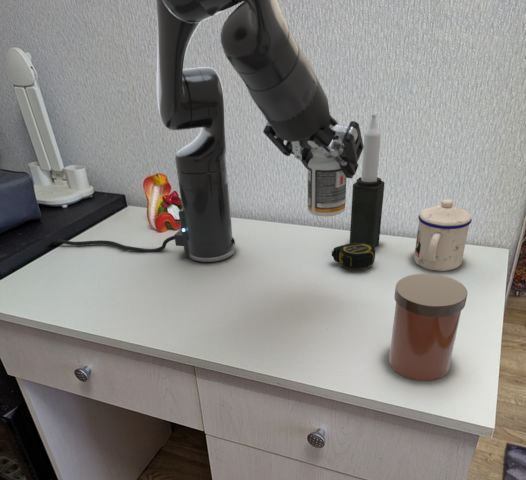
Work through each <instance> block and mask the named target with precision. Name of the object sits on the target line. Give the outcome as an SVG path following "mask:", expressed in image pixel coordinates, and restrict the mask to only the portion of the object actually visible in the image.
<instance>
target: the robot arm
mask: <svg viewBox="0 0 526 480" xmlns="http://www.w3.org/2000/svg"><path fill="white" fill-rule="evenodd" d="M155 2H156V20H157V21H156V22H157V23H156V24H157V48H156V51H157V53H156V54H157V55H156V56H157V57H156V99H157V100H156V101H157V109H158V112H159V113H158V114H159V117H160V120H161V122H162V123H163V125H164V126H165V128H166V129H168V130H170V131H187V130H193V129H200V132H199V134H198V135H197V136H196V138H194V139H193V140H192V141H191V142H190V143H188V144H187V145H184V146H183V147H182V148H180V149H179V150H178V151H177V152H176V153H175V157H174V160H175V166H176V175H177V181H178V188H179V194H180V202H181V209H180V210H179V211H178V217H179V224H180V229H179V230H178V231H177V232H176V233H174V235H172V236H169V237H167V238H165V240H163V242H162V245H161V246H159V247H157V248H142V247H137V246H129V245H124V244H121V243H118V242H115V241H112V240H102V239H101V240H99V239H98V240H85V241H83V240H82V241H71V240H66V239H62V238H61V239H60V238H57V239H58V240H57V242H50V241H49V242H48V243H47V244H46V247H52V245H54V244H56V243H58V244H64V245H70V246H87V245H88V246H90V245H109V246H113V247H117V248H119V249H122V250H126V251H134V252H140V253H159V252H161V251H163V250H165V248H166V247H167V244H168V243H169V242H171V241H175V246H177V247H183V250H184V258H189V259H191V260H193V261H195V262H199V263H215V262H220V261H225V260H226V259H228V258H230V257H232V256H233V255H234V254H235V246H236V242H235V238H234V237H233V228H232V218H231V217H232V216H231V203H230V202H231V201H230V191H229V181H228V170H227V169H228V168H227V159H226V158H227V157H226V156H227V139H226V138H227V137H226V118H225V117H226V115H225V96H224V88H223V84H222V80H221V77H220V76H219V73H218V72H217V70H216V69H215V68H213V67H211V66H200V67H190V68H184V65H185V59H186V54H187V51H188V49H189V45H190V43H191V41H192V38H193V37H194V34H195V33H196V31H197V29H198V27H199V26H200V24H201V23H202V22H204V21H206V20H208V19H210V18H213V17H215V16H217V15H218V14H220V13H222V12H224V11H227V10H229V9H230V8H233V7H234V6H236V5H238V4H239V5H238V6H236V7H235V9H233V10H232V12H231V13H230V14H229V15H228V16H227V18H226V20H225V21H224V23H223V25H222V26H221V27H222V28H221V29H220V30H221V31H220V46H221V49H222V51H223V53H224V55H225V57H226V59H227V60H228V62H229V63H230V65H231V66H232V67H233V70H235V72H236V74H237V75H238V77H239V78H240V79H241V81H242V82H243V84H244V85H245V87H246V89H247V91H248V93H249V95H250V97H251V99H252V101H253V102H254V104H255V105H256V107H257V109H258V110H259V111H260V113H261V114H262V115H263V117H264V118H265V120H266V123H265V126H264V129H263V134H264V135H265V136H266V138H268V139H269V140H270V141H271V142H272V144H273V145H274V146H275V147H276V148H277V149H278V150H279V151H280V152H281V153H282V154H283V156H286V157H290V156H291V155H293V156H294V158H295V159H296V160H298V161H300V162H301V163H302V165H303V166H304V168H305V169H306V170H308V163H309V161H310V159H311V158H313V154H312V152H311V148H315V149H317V150H319V151H320V152H321V153H322V154H323V155H324V156H326V157H327V158H333V159H334V160H335V161H337V162H338V163H339V165H340V167H341V169H342V171H343V173H344V174H345V176H346V179H353V178H354V176H355V175H356V174H357V170H358V168H359V163H358V162H359V159H360V157H361V155H362V154H363V148H364V141H363V136H362V132H361V128H360V124H359V123H358V122H357V121H354V120H351V121H350V122H349V124H348V125H347V126H346V125H341V124H339V123H338V121H337V120H336V119H335V118H334V117H333V115H331V112H330V105H329V100H328V96H327V95H326V93H325V91H324V89H323V87H322V85H321V82H320V81H319V79H318V77H317V75H316V73H315V70H314V69H313V67H312V64H311V63H310V60H309V59H308V57H307V55H306V54H305V52H304V51H303V50H302V48H301V47H300V45H299V44H298V42H297V40H296V39H295V36H294V34H293V33H292V30H291V28H290V27H289V24H288V21H287V20H286V18H285V15H284V14H283V11H282V7H281V5H280V0H155ZM332 140H333V141H332ZM331 141H332V143H331ZM330 143H331V146H330V148H328V146H329V145H330ZM340 147H341V148H342V149H343V152H342V154H340V153H339V148H340Z"/></svg>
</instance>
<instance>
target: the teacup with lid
mask: <svg viewBox="0 0 526 480" xmlns="http://www.w3.org/2000/svg"><path fill="white" fill-rule="evenodd" d="M472 221H473V220H472V215H471V213H470V212H469V211H467V210H465V209H463V208H459V207H458V206H456V205H455V204H454V201H453V200H452V199H449V198H446V199H445V198H444V199H442V200H441V202H440V204H437V205H434V206H429V207H426V208H424V209H422V210H421V211H420V213H419V215H418V227H417V232H416V233H417V234H416V241H415V248H414V255H413V260H414V262H415V263H416V265H418V266H419V267H421V268H424V269H427V270H431V271H437V272H439V271H442V272H443V271H452V270H454V269H457V268H459V267H460V266H461V265H462V262H463V258H464V253H465V248H466V243H467V238H468V233H469V228H470V224H471V223H472Z"/></svg>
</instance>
